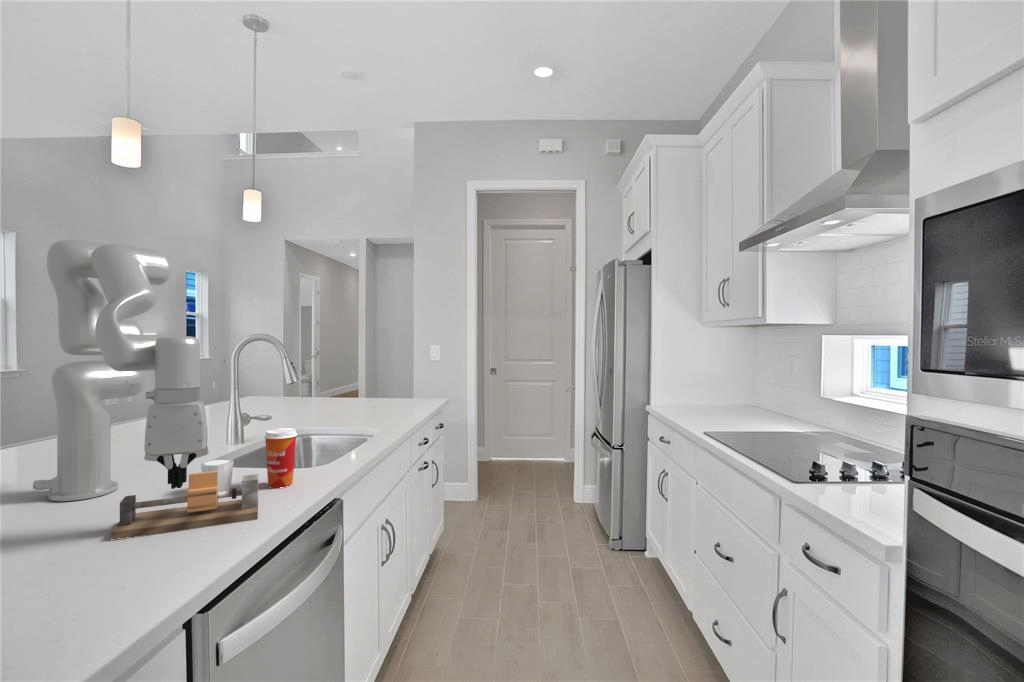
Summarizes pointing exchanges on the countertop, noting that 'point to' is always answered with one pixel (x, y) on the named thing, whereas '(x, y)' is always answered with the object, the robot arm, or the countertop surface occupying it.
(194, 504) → the orange sliding block
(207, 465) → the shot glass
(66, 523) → the countertop surface
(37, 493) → the countertop surface
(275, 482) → the paper cup
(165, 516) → the wooden slider rail
